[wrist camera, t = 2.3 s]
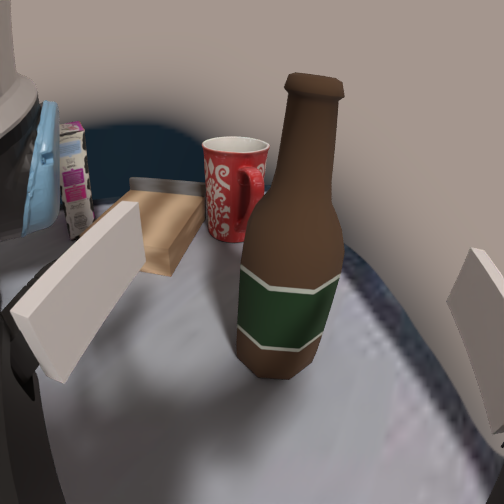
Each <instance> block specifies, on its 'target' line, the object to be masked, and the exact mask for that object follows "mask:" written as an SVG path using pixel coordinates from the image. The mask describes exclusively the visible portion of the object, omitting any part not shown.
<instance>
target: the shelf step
mask: <svg viewBox="0 0 504 504" xmlns="http://www.w3.org/2000/svg"><path fill="white" fill-rule="evenodd" d="M129 180H130V191H129V192H128V193H126V194H125V195H124V196H123V197H121V198H120V199H119V200H118V201H117V202H116V203H115V204H113V205H112V206H111V207H110V208H109V209H108V210H107V211H105V212H104V213H103V214H102V215H101V216H100V217H99V218H98V219H97V220H95V221H94V222H93V223H92V224H91V225H90V226H89V227H88V228H87V229H86V230H85V231H84V232H82V233H81V234H80V235H79V236H80V238H81V237H82V236H83V235H84V234H85V233H86V232H87V231H88V230H89V229H90V228H92V227H93V226H94V225H95V224H96V223H97V222H98V221H99V220H100V219H102V218H103V217H104V216H105V215H106V214H107V213H108V212H109V211H111V210H112V209H113V208H114V207H115V206H116V205H118V204H119V203H120V202H121V201H130V202H139V211H140V220H141V228H142V236H143V244H144V251H145V258H146V262H145V264H144V265H143V266H142V268H141V269H140V271H142V272H147V273H153V274H159V275H164V276H170V277H171V276H172V274H173V272H174V271H175V269H176V267H177V265H178V264H179V262H180V260H181V259H182V257H183V255H184V254H185V252H186V250H187V248H188V247H189V245H190V243H191V242H192V240H193V238H194V237H195V235H196V233H197V232H198V230H199V228H200V227H201V225H202V223H203V222H204V220H205V219H206V183H201V182H189V181H179V180H166V179H153V178H138V177H131V178H130V179H129Z"/></svg>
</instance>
